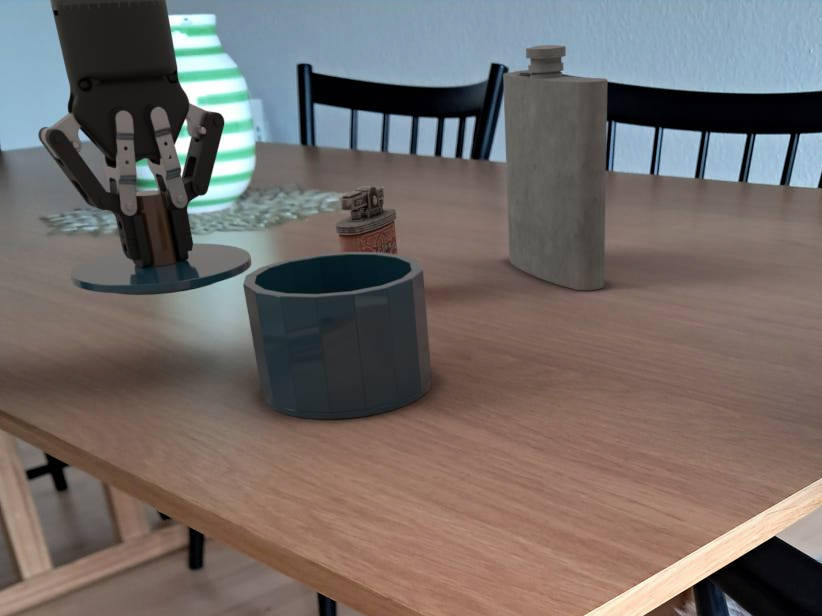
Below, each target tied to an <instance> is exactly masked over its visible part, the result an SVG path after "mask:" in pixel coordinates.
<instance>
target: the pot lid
mask: <svg viewBox="0 0 822 616" xmlns="http://www.w3.org/2000/svg"><path fill="white" fill-rule="evenodd" d="M136 199H137V214H139V215H142V219H143V224H144V229H145V234H146V238H147V243H148V248H149V253H150V258H151V266H149V267H144V268H141V267H139V266H137V265H135V264H134V262H133V260H131V259H129V258H127V257H126V255H125V254H124V252H123V250H119V251H114V252H108V253H105V254H102V255H98V256H95V257H92V258H89V259H86V260H84V261H81V262H79V263H78V264H76V265H74V266H73V267H72V268H71V269H70V270H69V277H70V281H71V283H72V284H73V285H74V286H75V287H77V288H80V289H82V290H86V291H90V292H95V293H96V292H97V293H104V294H117V295H124V296H125V295H126V296H152V295H153V296H154V295H165V294H173V293H180V292H181V293H182V292H187V291H191V290H198V289H201V288H205V287H208V286H211V285H214V284H216V283H219V282H222V281H226V280H229V279H231V278H235V277H237V276H240V275H241V274H243V273H245V272H246V271H248V270H249V269H250V268H251V266H252V256H251V254H250V252H249V251H247V250H245V249H243V248H240V247H237V246H232V245H229V244H228V245H227V244H218V243H193V248H192V251H188V256H189V258H188V260H183V261H177V256H176V251H175V246H174V241H173V235H172V230H171V225H170V220H169V214H168V209H167V204H166V199H165V194H164V191H159V190H158V189H157V190H155V189H152V190H151V189H150V190H142V191H136Z"/></svg>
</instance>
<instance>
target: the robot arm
mask: <svg viewBox="0 0 822 616" xmlns="http://www.w3.org/2000/svg"><path fill="white" fill-rule="evenodd" d="M49 1H50V6H51V11H52V15H53V19H54V23H55V27H56V31H57V36H58V40H59V45H60V50H61V54H62V58H63V63H64V67H65V72H66V76H67V79H68V84H69V99H68V102H67V114H66V115H64V116H63V117H62V118H61V119H59V120H58V121H56V122H55V123H54V124H53V125H51V126H43V127H41V128H40V129H39V131H38V133H37V134H38V139H39V142H41V144H42V146H43V147H44V148H45V149H46V151H47V152H48V153H49V155H50V156H51V158H52V159H53V160H54V162H55V163H56V164H57V166H58V167H59V168H60V169H61V171H62V172H63V174H64V175H65V176H66V178H67V179H68V181H69V182H70V183H71V185H73V187H74V188H75V190H76V191H77V192H78V194H79V195H80V197H82V199H83V201H84V202H85V203H86V204H87V205H88V206H91V207H93V208H97V209H99V210H101V211H109V212H111V213H112V214H113V215H114V217H115V220H116V221H115V222H116V225H117V229H118V230H117V231H118V234H119V238H120V239H119V240H120V243H121V248H122V249H121V250H122V251H123V252H124V254H125V255H126V257H127V258H129V259H131V260H133V262H134V264H135V265H137V266H139V267H141V268H144V267H149V266H151V258H150V253H149V248H148V243H147V238H146V234H145V229H144V224H143V219H142V215H139V214H137V199H136V192H137V191H136V181H137V179H138V175H137V164H136V163H138V162H140V161H142V160H144V159H146V163H147V166H148V169H149V171H150V172H151V174H152V175H153V178H154V182H155V185H156V188H157V190H159V191H164V194H165V199H166V204H167V209H168V214H169V220H170V225H171V230H172V235H173V241H174V246H175V251H176V256H177V261H183V260H188V258H189V256H188V251H192V248H193V244H194V240H193V236H192V230H191V224H190V218H189V213H188V206H189V204H190V203H191V201H193V200H194V199H196V198H198V197H199V196H200V197H201V196H202V197H203V196H205V195H206V194H207V193H208V192H209V187H210V183H211V179H212V175H213V171H214V168H215V164H216V159H217V155H218V151H219V147H220V143H221V139H222V135H223V132H224V127H225V124H226V123H225V117H224V116H223V114H221V113H220V112H217V111H209V110H206V109H204V108H201V107H199V106H197V105H194V104H193V103H190V99H189V97H188V95H187V93H186V91H185V90H184V88H183V87H182V85H181V82H180V80H179V71H178V63H177V58H176V51H175V46H174V40H173V34H172V29H171V28H172V27H171V23H170V22H171V21H170V18H169V17H170V16H169V11H168V6H167V0H49ZM185 121H186V131H187V135H189V137H190V141H189V146H188V148H187V153H186V156H185V157H186V158H185V161H184V166H183V170H182V167H181V163H180V159H179V155H178V153H177V149H176V143H177V140H178V139H179V135H180V133H181V130H182V129H183V126H184V123H185ZM79 131H81V132H82V133H83V134H84V135H85V137H87V138H88V139H89V140H90V141H91V143H93V145H94V146H95V147H96V148H97V149H98V150H99V151H100V152H101V155H102V163H103V164H102V165H103V172H104V176H105V178H106V181H107V190H106V189H105V188H104V186H103V185H102V183H101V182H100V180H99V179H98V178H97V176H96V175H95V174H94V172H93V171H92V170H91V169H90V167H89V166H88V164H87V163H86V162H85V160H84V159H83V157H82V156H81V154H79V153H80V152H81V151H82V147H83V144H82V141H81V139H80V137H79ZM181 173H182V174H181Z"/></svg>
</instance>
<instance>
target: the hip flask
mask: <svg viewBox="0 0 822 616" xmlns="http://www.w3.org/2000/svg"><path fill="white" fill-rule="evenodd" d="M566 47H567V46H565V45H556V44H555V45H554V44H544V45H543V44H542V45H537V46H531V47H526V48H525V59H528V60H529V61H530V64H529V65H527V67H528V69H523V70H514V71H511V72H504V73H503V74H502V75H503V76H502V78H503V105H504V106H503V109H504V110H503V111H504V136H505V138H504V139H505V165H506V166H505V167H506V168H505V169H506V170H505V171H506V196H507V197H506V198H507V200H506V201H507V222H508V223H507V227H508V228H507V229H508V257H509V260H508V261H509V263H510V264H511V265H513V266H514V267H516V268H517V269H518V270H521V271H523V272H524V273H526V274H529V275H531V276H532V277H536V278H538V279H540V280H543V281H546V282H548V283H551V284H555V285H558V286H561V287H564V288H568V289H571V290H572V289H573V290H575V291H576V290H577V291H583V292H584V291H585V292H586V291H595V290H596V291H597V290H600V289H603V288H604V287H605V253H606V252H605V250H606V195H607V194H606V191H607V190H606V188H607V186H606V184H607V134H608V133H607V129H608V124H607V123H608V79H607V78H604V77H603V78H601V77H582V76H569V75H563V72H562V71H564V62H562V58H564V57H566V56H567V55H566V53H567V52H566V50H567V49H566Z"/></svg>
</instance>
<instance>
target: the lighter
mask: <svg viewBox="0 0 822 616" xmlns="http://www.w3.org/2000/svg"><path fill="white" fill-rule="evenodd" d="M384 191H385V190H384V186H379V185H377V186H374V185H358V186H356V188H355V189H354V190H353V191H350V192H347V193H345V194H342V195H341V197H340V198H339V199H340V206H341V211H344V212H345V211H350V212H349V213H350V216H347V217H345V218H343V219H341V220H339V221H337V222H336V223H335V224H334V225H335V233H336V234H337V235H338V239H339V240H338V242H339V247H340V253H342V252H382V253H389V254H396V255H399V254H398V245H397V234H396V223H395V220H396V219H397V212H396V209H395V208H391V207H384V203H385V202H384V199H385V192H384Z"/></svg>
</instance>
